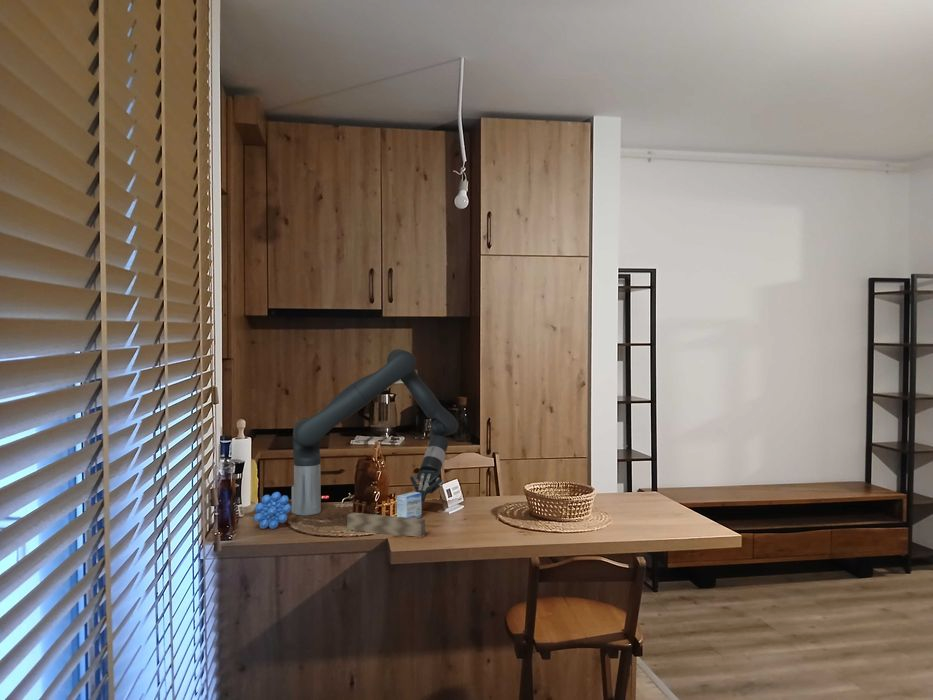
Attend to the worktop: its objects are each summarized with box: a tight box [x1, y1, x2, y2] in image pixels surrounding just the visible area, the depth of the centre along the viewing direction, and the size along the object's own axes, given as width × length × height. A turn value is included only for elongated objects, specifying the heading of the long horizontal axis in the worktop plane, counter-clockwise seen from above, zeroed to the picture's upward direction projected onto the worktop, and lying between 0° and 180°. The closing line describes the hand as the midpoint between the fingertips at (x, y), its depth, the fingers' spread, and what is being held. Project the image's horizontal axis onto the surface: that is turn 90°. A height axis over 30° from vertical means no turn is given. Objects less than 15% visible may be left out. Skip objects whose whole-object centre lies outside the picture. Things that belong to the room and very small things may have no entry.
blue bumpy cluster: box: [253, 491, 292, 530], centre depth 212 cm, size 12×7×12 cm, turn 101°
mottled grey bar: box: [346, 511, 426, 538], centre depth 207 cm, size 26×3×5 cm, turn 70°
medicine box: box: [396, 491, 422, 518], centre depth 223 cm, size 8×4×9 cm, turn 143°
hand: (419, 501), depth 231 cm, fingers closed
